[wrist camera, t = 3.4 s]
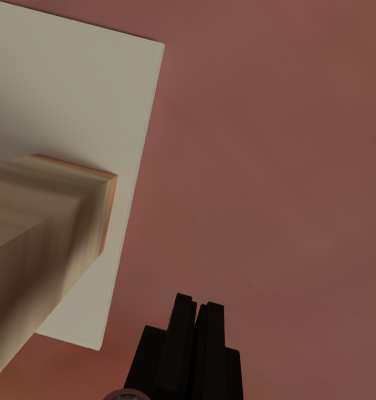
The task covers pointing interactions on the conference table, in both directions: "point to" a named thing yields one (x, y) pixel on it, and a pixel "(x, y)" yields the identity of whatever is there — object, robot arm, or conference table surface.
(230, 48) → the conference table surface
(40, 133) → the mat
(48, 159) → the maple block
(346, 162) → the conference table surface
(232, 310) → the conference table surface
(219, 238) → the conference table surface
